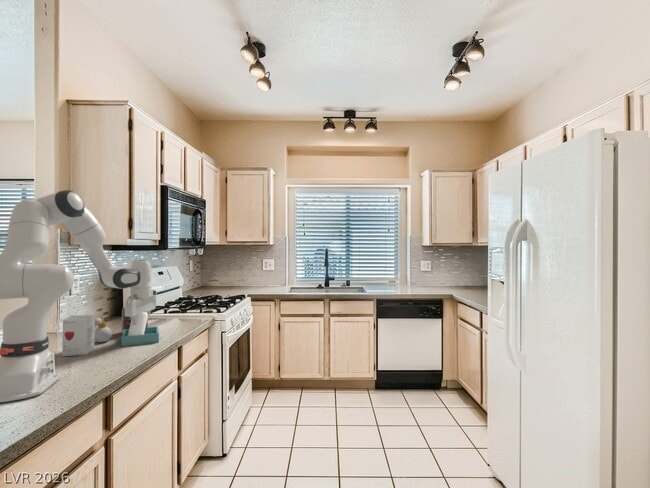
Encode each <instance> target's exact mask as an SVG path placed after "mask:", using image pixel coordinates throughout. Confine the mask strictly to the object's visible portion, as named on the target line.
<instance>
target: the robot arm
mask: <svg viewBox="0 0 650 488" xmlns="http://www.w3.org/2000/svg"><path fill="white" fill-rule="evenodd" d="M57 224H64V226H65V227H66V229H67V231H68V232H69V233H70V235H71V237H72V238H73V239H74V240H75V241H76V243H77V244H78V245H79V246H80V247H81V248H82V250H83V251H84V252H85V253H86V255H87V257H88V258H89V259H90V261H91V262H92V264H93V266H94V267H95V269H96V271H97V273H98V276H99V280H100V284H102V286H104V287H106V288H109V289H120V290H121V289H122V290H123V289H127V288H130V296H128V298H127V299H126V301H125V304H124V308H125V313H124V314H125V316H126V317H131V320H132V325H136V324H137V319H136V318H137V315H139V314H141V313H142V312H143V311H147V312H148V313H147V314H148V318H147V321H148V322H149V321H150V316H151V312H152V311H153V310H155V309H156V307H157V295H158V291H157V290H155V289H154V288H152V283H151V281H152V265H151V262H150V261H148V260H146V259H134V258H133V259H132V260H131V261H129V262H128V263H126V264H123V265H121V266H117V265H115V264H114V263H113V262H112V261H111V260H110V258H109V256H108V255H107V253H106V252H105V250H104V247H103V246H104V243H105V242H106V239H107V235H106V232H105V230H104V228H103V226H102V225H101V223H100V222H99V220H98V219H97V218H96V217H95V216H94V214H93V213H92V212H91V211H90V210H89V208H87V207H86V205H85V202H84V200H83V198H82V197H81V196H80V194H78V193H77V192H75V191H73V190H70V189H67V190H65V189H64V190H60V191H57V192H55V193H52V194H47V195H44V196H41V197H39V198H37V199H35V200H33V199H25V200H21V201H19V202H17V203H16V204H15V205H14V206H13V209H12V212H11V214H10V219H9V223H8V229H7V237H6V242H5V245H4V247H3V250H2V252H1V253H0V300H11V299H28V301H27V303H26V304H25V305H24V306H22V307H19V308H17V309H15V310H13V311H11V312H8V314H6V316H5V317H4V318H3V321H2V342H1V343H0V403H6V402H13V401H18V400H23V399H28V398H32V397H35V396H39V395H41V394H42V393H43V392H45V391H46V390H47V389H49V388H50V387H51V386H53V384H55V383H56V382H57V381H58V380H60V379H61V378H62V374H61V373H56V366H55V363H56V362H55V354H54V353H53V352H52V351H50V349H49V344H50V340H49V336H48V320H49V315H50V311H51V310H52V307H53V305H54V304H55V303H56V302H57V301H58V299H59V298H61V297H62V296H64V295H66V293H68V292H69V291H70V290H71V288H72V287H73V285H74V282H75V276H74V273H73V271H72V270H71V268H70V267H68V266H67V265H62V264H55V263H30V264H29V262H30V261H32V260H35V259H37V258H38V259H39V258H40V257H42V256H43V255H45V254H46V252H47V251H48V250H49V247H50V234H51V233H50V228H51V227H50V226H54V225H57Z"/></svg>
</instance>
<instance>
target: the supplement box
mask: <svg viewBox="0 0 650 488" xmlns="http://www.w3.org/2000/svg"><path fill="white" fill-rule="evenodd" d="M94 319H95V314H87V315H86V314H85V315H83V314H80V315H78V314H77V315H71V316H68V317H66V318H64V319H63V320H62V349H61V350H62V353H61V354H62V355H61V356H62V357H70V356H71V357H72V356H83V355H88V354H90V353H91V351H93V350H94V349H95V340H94V331H95V326H94Z"/></svg>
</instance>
